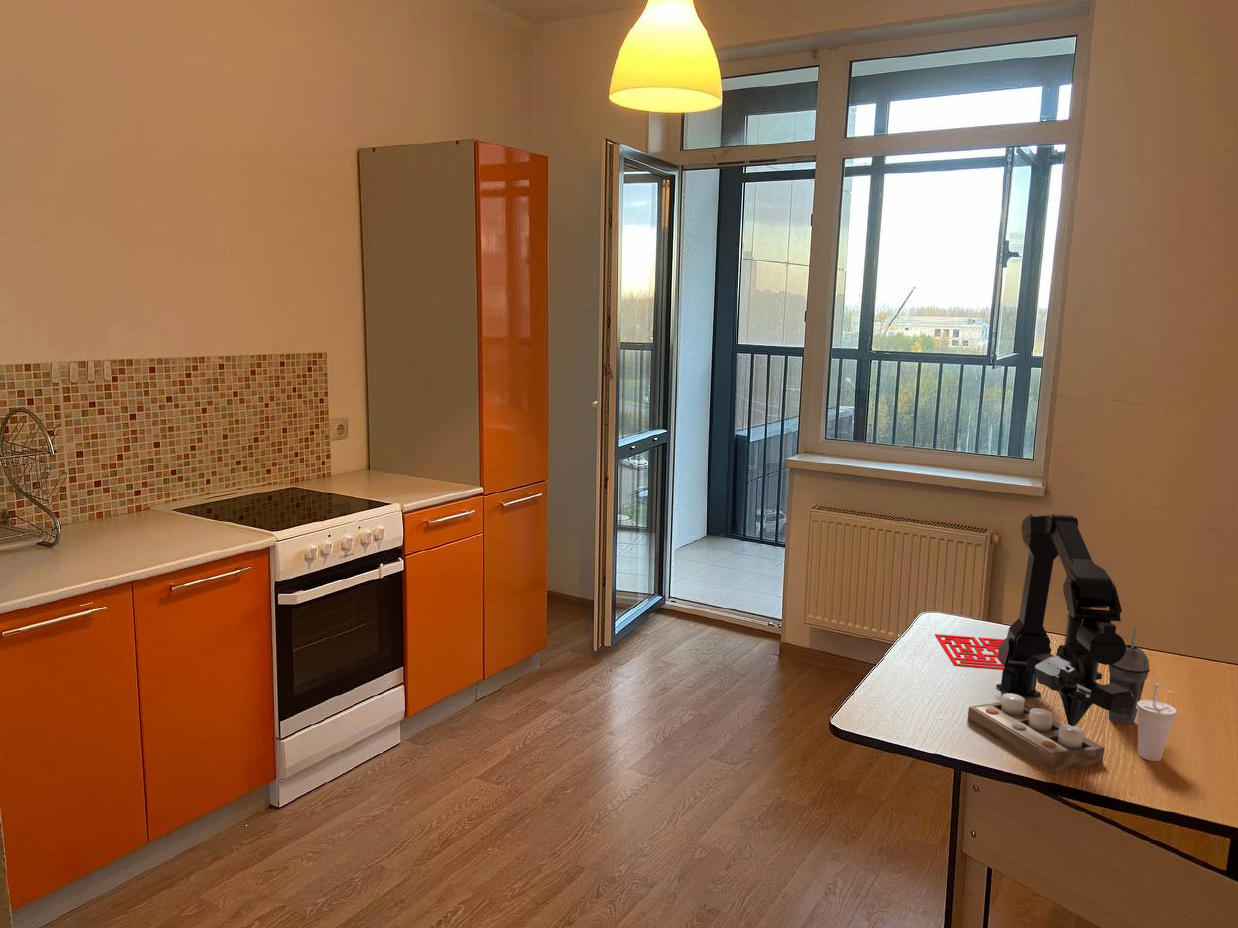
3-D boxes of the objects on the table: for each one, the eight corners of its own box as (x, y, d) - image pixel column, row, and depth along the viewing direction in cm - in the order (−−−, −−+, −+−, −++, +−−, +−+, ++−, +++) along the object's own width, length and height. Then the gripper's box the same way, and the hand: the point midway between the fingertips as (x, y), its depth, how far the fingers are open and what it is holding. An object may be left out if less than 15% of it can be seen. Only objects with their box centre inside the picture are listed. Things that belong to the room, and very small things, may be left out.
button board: (1015, 713, 183) (1016, 697, 183) (1102, 763, 164) (1104, 745, 164) (967, 720, 179) (969, 704, 179) (1051, 772, 160) (1053, 754, 159)
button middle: (1039, 721, 174) (1041, 707, 174) (1056, 731, 171) (1058, 715, 170) (1023, 724, 173) (1025, 709, 172) (1039, 733, 169) (1041, 718, 169)
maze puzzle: (1018, 642, 225) (1018, 640, 225) (1045, 674, 206) (1045, 672, 205) (934, 636, 227) (935, 633, 227) (953, 667, 208) (954, 664, 208)
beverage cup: (1137, 715, 185) (1151, 621, 181) (1145, 731, 178) (1159, 633, 174) (1097, 709, 187) (1110, 616, 183) (1104, 724, 180) (1117, 627, 177)
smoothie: (1122, 747, 170) (1132, 677, 168) (1154, 747, 171) (1164, 677, 169) (1144, 764, 164) (1155, 691, 162) (1177, 764, 165) (1189, 691, 162)
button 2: (1069, 738, 168) (1071, 722, 167) (1086, 748, 164) (1089, 732, 164) (1052, 741, 166) (1054, 725, 166) (1070, 751, 163) (1072, 735, 162)
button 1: (1012, 706, 181) (1013, 692, 180) (1027, 715, 177) (1029, 700, 177) (996, 708, 179) (998, 694, 179) (1011, 717, 176) (1013, 702, 175)
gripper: (1008, 629, 168) (998, 708, 170) (1092, 667, 151) (1080, 755, 153) (1054, 624, 172) (1044, 701, 174) (1141, 660, 155) (1129, 746, 157)
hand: (1071, 725), depth 165 cm, fingers closed
